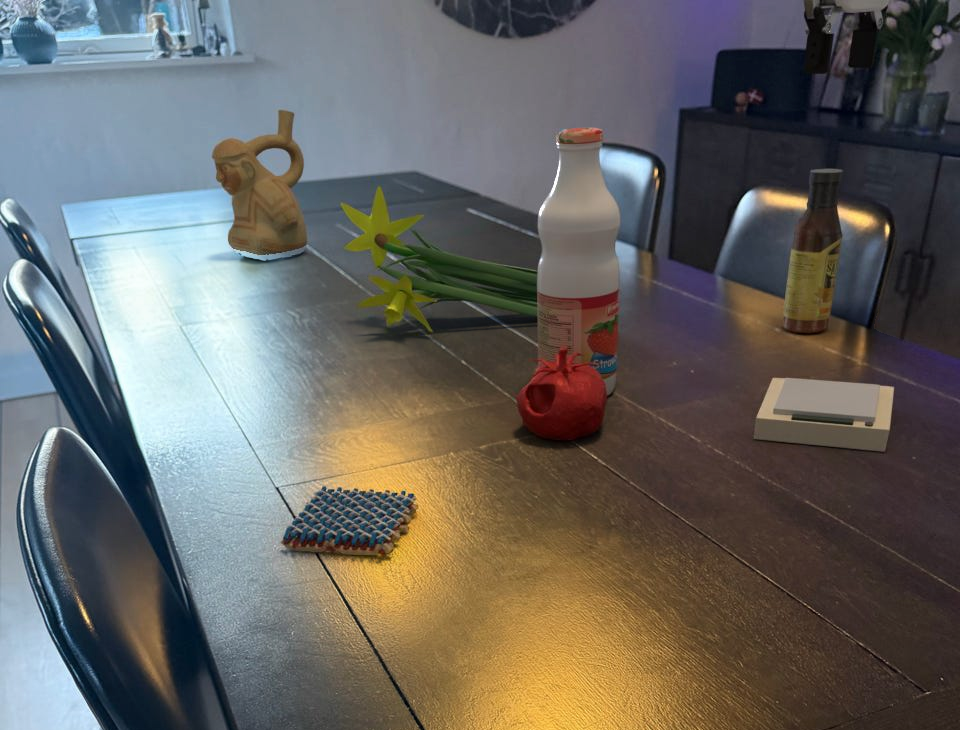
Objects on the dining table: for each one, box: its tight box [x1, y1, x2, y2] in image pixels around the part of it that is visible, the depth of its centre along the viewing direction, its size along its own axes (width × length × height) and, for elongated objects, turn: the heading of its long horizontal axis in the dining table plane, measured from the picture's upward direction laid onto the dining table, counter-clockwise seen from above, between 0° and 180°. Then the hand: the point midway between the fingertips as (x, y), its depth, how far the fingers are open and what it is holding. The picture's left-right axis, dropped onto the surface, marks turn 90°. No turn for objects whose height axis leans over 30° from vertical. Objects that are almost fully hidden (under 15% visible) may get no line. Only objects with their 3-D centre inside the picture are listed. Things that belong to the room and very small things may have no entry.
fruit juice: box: [536, 127, 621, 397], centre depth 105 cm, size 9×9×28 cm
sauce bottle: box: [782, 168, 844, 334], centre depth 124 cm, size 6×6×20 cm
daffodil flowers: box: [339, 185, 538, 333], centre depth 135 cm, size 17×15×35 cm
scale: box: [753, 377, 895, 453], centre depth 100 cm, size 13×13×3 cm
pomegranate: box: [516, 346, 608, 441], centre depth 100 cm, size 10×10×9 cm
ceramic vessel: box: [211, 109, 308, 255], centre depth 180 cm, size 17×20×25 cm
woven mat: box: [280, 486, 419, 556], centre depth 85 cm, size 10×11×2 cm
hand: (838, 70), depth 114 cm, fingers open, 9 cm apart
